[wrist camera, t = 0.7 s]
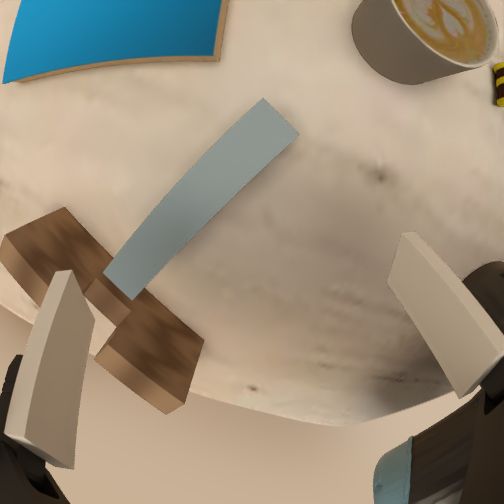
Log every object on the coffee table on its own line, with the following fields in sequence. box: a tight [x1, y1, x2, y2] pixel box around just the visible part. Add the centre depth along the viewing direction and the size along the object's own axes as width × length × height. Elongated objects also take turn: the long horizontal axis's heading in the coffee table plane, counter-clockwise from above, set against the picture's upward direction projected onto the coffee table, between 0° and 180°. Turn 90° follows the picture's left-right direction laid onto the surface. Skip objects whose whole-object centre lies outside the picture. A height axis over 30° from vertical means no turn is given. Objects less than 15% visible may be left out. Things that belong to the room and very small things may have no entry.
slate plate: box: [103, 98, 299, 300], centre depth 23 cm, size 16×3×10 cm, turn 134°
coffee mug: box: [352, 0, 499, 85], centre depth 16 cm, size 13×10×10 cm
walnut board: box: [0, 207, 204, 414], centre depth 27 cm, size 22×3×10 cm, turn 44°
